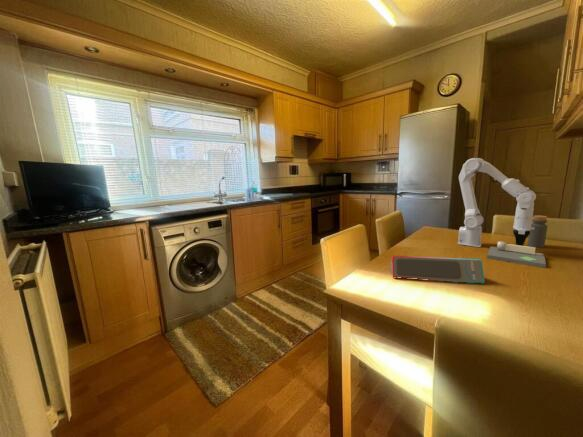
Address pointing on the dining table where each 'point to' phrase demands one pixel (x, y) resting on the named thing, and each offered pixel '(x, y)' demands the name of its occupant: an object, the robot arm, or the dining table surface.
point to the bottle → (538, 232)
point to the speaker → (438, 268)
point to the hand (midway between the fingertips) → (519, 246)
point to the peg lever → (516, 248)
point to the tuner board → (517, 257)
